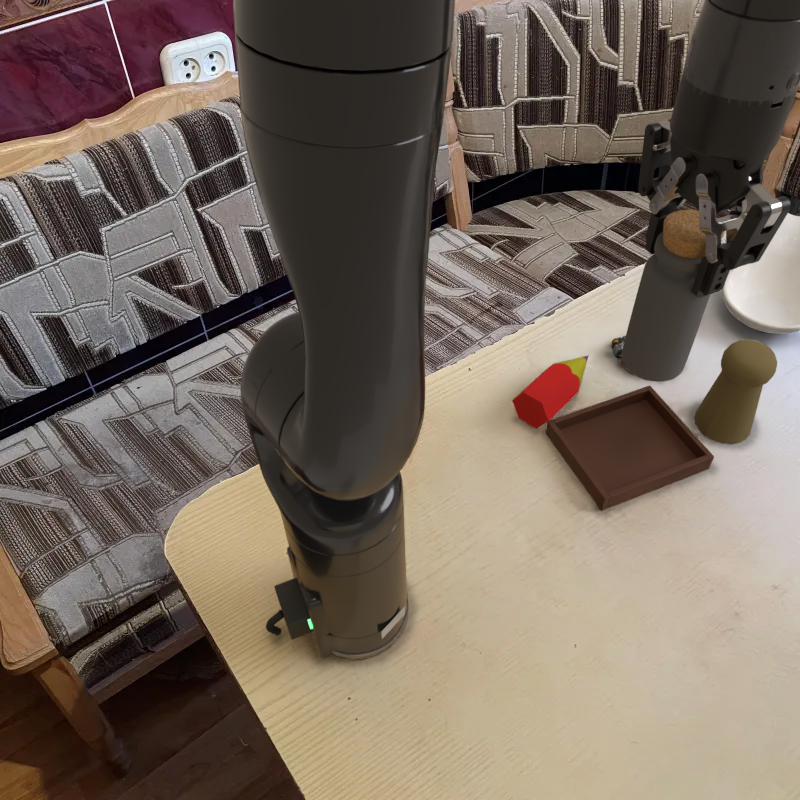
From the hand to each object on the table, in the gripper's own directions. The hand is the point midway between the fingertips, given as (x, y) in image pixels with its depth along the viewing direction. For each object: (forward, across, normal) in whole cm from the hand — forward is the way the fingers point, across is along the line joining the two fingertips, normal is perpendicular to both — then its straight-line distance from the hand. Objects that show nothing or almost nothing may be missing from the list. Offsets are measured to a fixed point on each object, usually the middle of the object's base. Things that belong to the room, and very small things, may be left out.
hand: (680, 270), depth 63 cm
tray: (+24, 0, 0) cm, 24 cm away
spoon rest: (+24, -15, +33) cm, 44 cm away
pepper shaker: (+24, +1, +12) cm, 27 cm away
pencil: (+24, -10, -2) cm, 26 cm away
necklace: (+24, -12, +12) cm, 30 cm away
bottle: (+11, 0, 0) cm, 11 cm away
